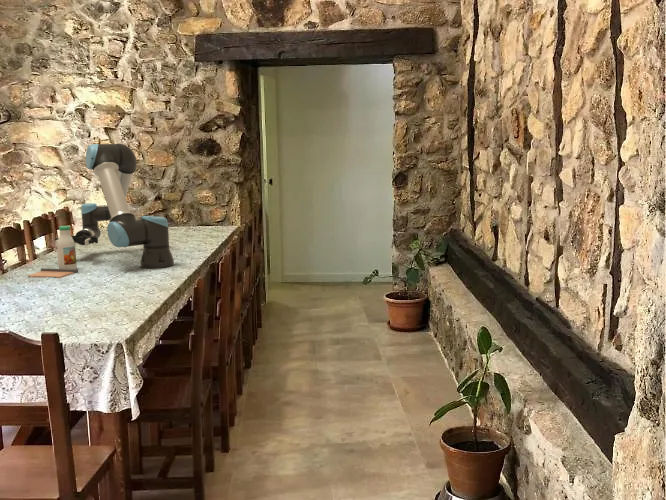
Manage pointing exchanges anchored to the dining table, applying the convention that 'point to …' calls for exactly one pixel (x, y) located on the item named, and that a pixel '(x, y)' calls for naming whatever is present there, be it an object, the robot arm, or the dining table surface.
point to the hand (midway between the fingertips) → (70, 243)
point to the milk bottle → (66, 249)
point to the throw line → (60, 270)
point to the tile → (50, 274)
